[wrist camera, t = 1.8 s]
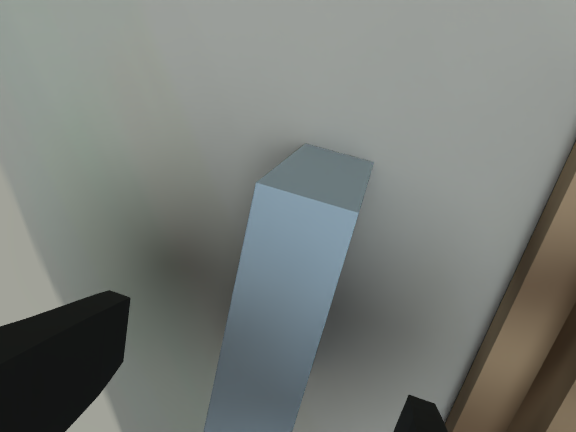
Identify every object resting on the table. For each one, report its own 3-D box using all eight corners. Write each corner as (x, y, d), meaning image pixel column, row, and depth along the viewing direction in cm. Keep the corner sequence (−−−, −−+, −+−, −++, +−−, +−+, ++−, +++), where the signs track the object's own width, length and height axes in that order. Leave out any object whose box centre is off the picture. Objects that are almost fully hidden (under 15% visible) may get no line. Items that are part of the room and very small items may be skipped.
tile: (312, 365, 19) (275, 487, 14) (256, 345, 19) (198, 456, 14) (374, 162, 16) (358, 212, 10) (306, 142, 16) (255, 182, 11)
